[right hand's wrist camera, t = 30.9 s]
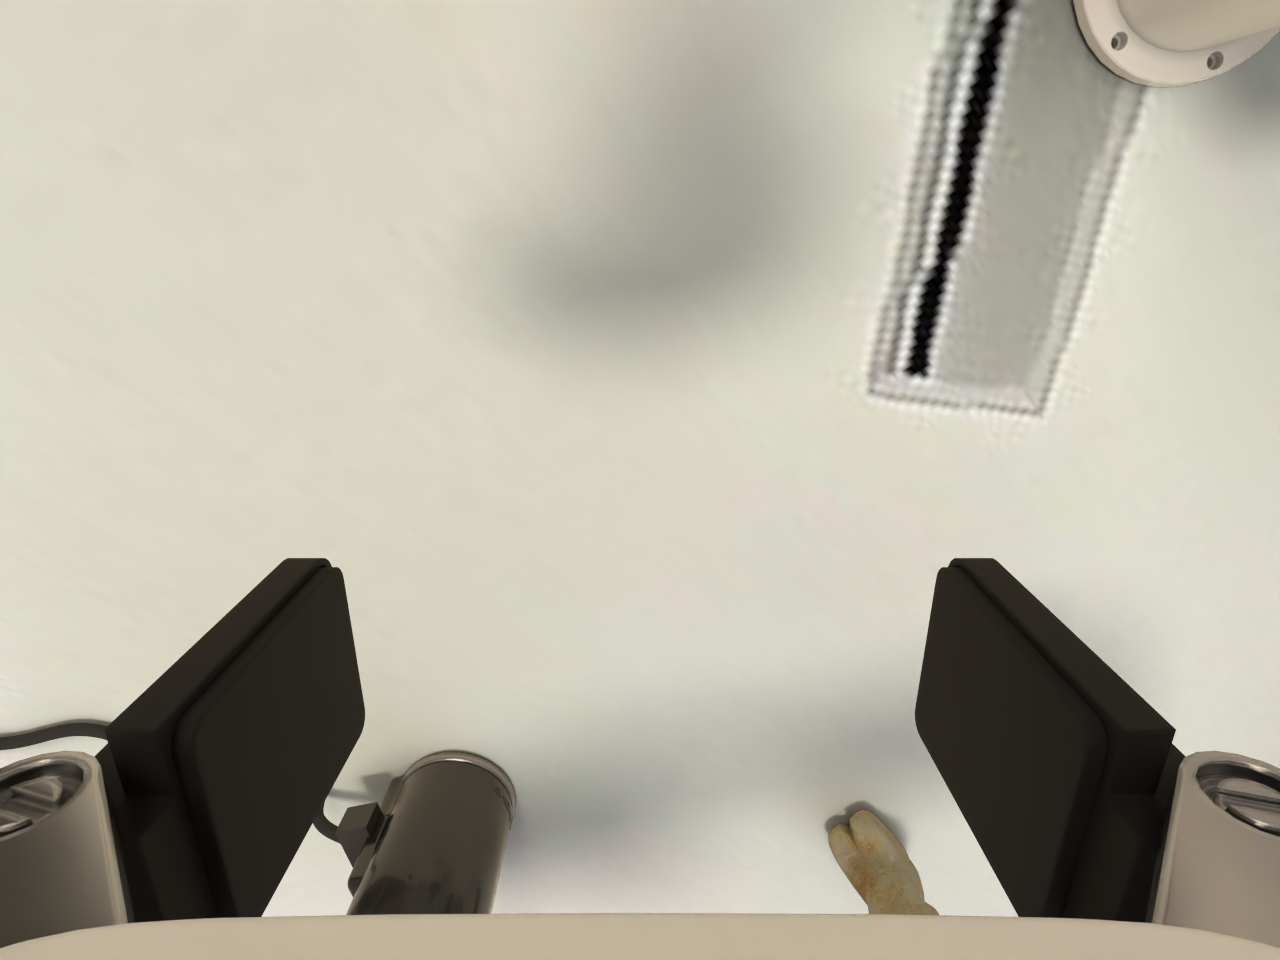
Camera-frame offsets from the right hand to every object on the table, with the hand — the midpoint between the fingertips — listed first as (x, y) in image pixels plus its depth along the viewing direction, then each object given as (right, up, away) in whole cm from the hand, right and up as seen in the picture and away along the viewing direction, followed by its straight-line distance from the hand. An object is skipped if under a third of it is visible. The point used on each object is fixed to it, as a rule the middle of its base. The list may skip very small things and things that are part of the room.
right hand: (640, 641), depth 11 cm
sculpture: (+19, -27, +48) cm, 58 cm away
